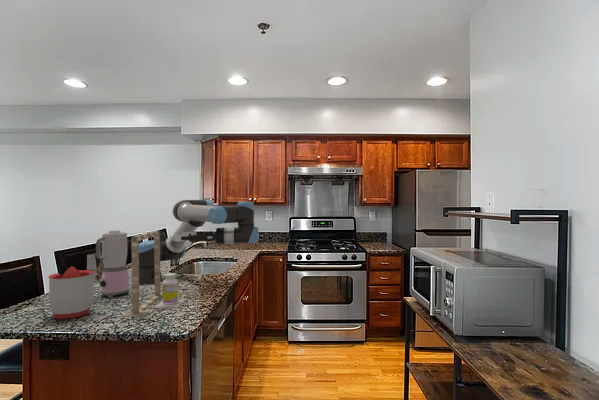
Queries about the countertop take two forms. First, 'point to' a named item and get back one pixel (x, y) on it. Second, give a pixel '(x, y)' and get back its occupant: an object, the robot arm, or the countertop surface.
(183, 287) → the countertop surface
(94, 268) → the coffee box
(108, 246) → the blender
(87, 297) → the citrus juicer
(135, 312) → the gate frame
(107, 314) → the countertop surface
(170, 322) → the countertop surface
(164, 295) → the supplement bottle
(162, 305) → the coaster
